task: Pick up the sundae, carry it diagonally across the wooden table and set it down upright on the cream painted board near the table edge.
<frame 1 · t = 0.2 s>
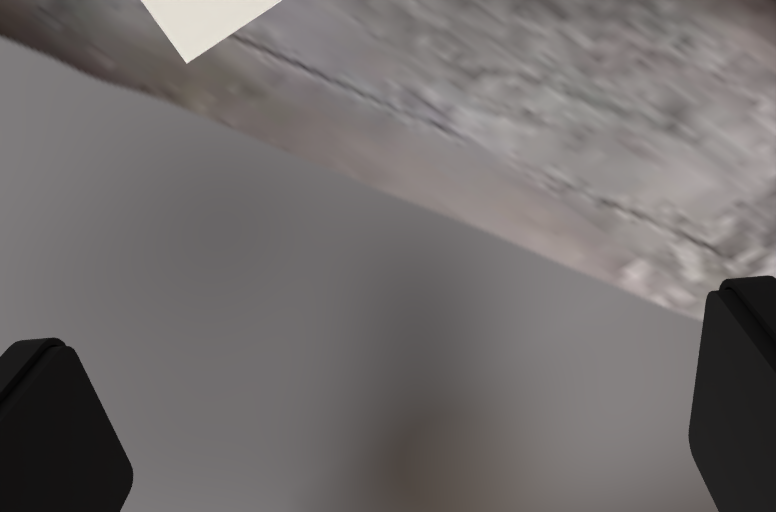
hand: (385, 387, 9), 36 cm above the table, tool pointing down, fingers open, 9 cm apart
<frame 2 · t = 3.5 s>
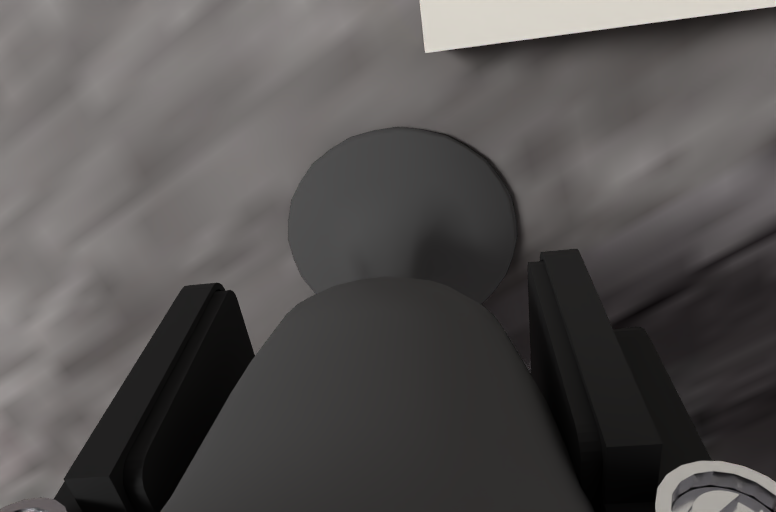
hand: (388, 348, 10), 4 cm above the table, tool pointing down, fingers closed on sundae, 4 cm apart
sundae: (399, 232, 14), on the table, touching gripper
when the fingers open (7 cm above the table, at t = 9.5 s): sundae drops 2 cm, resting on board.
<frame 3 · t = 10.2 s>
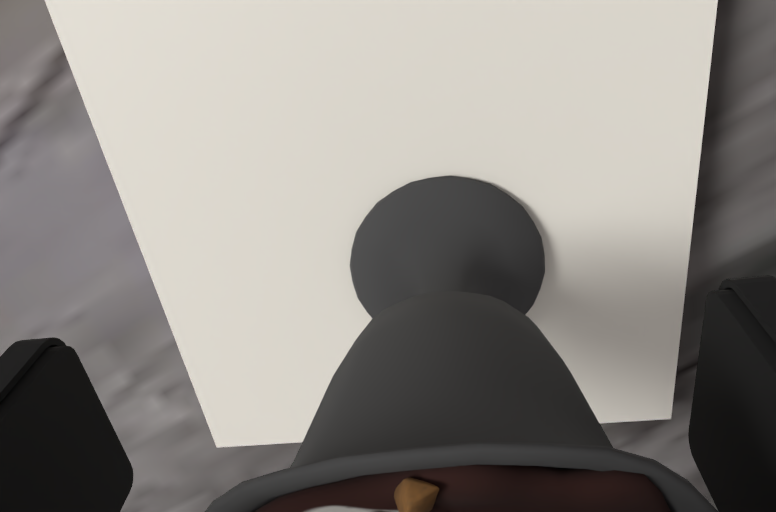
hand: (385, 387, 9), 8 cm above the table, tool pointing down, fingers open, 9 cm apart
board: (402, 182, 16), on the table
sundae: (444, 263, 16), point 1 cm above the table, touching board
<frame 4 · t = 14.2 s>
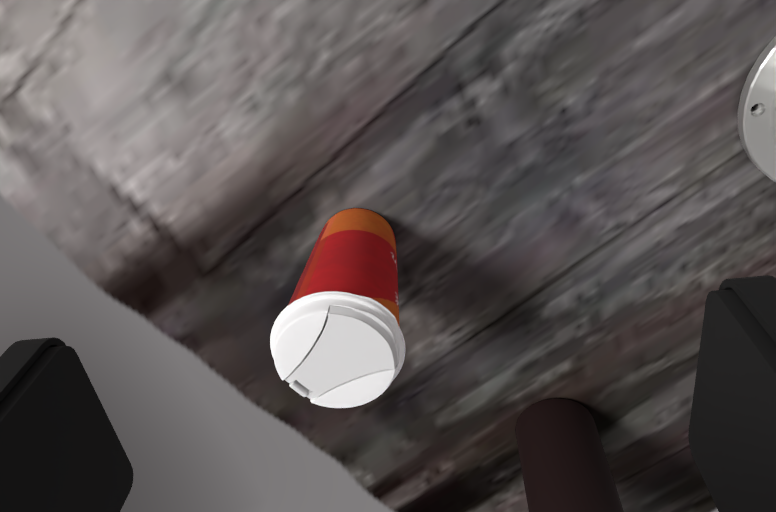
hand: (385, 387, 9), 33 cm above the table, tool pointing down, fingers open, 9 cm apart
bottle: (553, 423, 55), on the table
paper cup: (359, 239, 46), on the table
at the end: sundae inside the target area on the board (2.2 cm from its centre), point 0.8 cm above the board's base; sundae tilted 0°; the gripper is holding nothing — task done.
